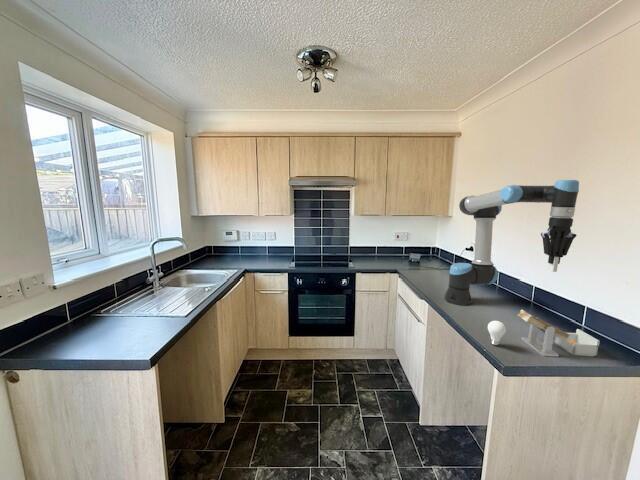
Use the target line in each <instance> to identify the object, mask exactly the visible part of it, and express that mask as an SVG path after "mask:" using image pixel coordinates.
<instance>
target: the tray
mask: <svg viewBox="0 0 640 480" xmlns="http://www.w3.org/2000/svg"><path fill="white" fill-rule="evenodd" d="M575 330H576V331H575V332H566V333H567V334H569V337H568V338H567V340H565V339H563V338H561V337H558V336H556V335H554V337H555V338H554V341H553V343H554V344H556V345H558V347H561V348H562V349H563V350H564V351H565V352H567V353H569V354H570V355H572V356H576V357H577V356H580V357H582V356H583V357H594V356H598V351H599V346H600V339H597V338H595V337H594V336H592V335H590V334H588V333H586V332H585V331H583V330H582V329H579V328H577V329H575ZM569 340H574V341H576V342H577V343H573V344H572V343H570V342H569Z"/></svg>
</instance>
